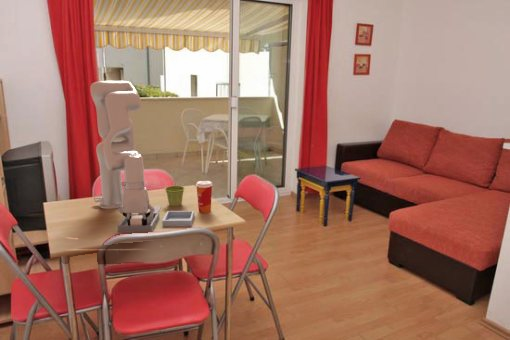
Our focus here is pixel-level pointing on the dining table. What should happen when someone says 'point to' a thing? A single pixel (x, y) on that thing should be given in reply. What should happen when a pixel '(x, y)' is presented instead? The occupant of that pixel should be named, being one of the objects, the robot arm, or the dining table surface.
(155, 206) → the lid board
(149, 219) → the stone
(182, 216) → the bin
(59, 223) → the dining table surface
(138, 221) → the cream cube
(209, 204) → the paper cup
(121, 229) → the bin
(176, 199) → the plant pot
